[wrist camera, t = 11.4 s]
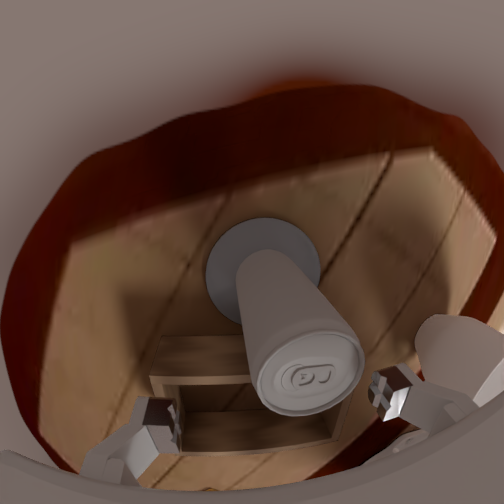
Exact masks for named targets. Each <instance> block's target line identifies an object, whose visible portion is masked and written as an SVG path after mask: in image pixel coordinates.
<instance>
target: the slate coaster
mask: <svg viewBox="0 0 504 504" xmlns="http://www.w3.org/2000/svg"><path fill="white" fill-rule="evenodd" d="M267 249H271V250H275V251H279V252H281V253H283V254H285V255H286V256H287V257H289V258H290V259H291V260H292V261H293V262H294V263H295V264H296V265H297V266H298V267H299V269H300V270H301V271H302V272H303V273H304V274H305V275H306V276H307V277H308V278H309V279H310V281H311V282H312V283H313V284H314V285H315V286H316V287H317V288H318V284H319V280H320V261H319V257H318V253H317V251H316V249H315V246H314V245H313V243H312V242H311V240H310V239H309V238H308V236H307V235H306V234H305V233H304V232H302V231H301V230H300V229H299V228H297V227H296V226H294V225H292V224H290V223H288V222H286V221H283V220H280V219H276V218H268V217H261V218H253V219H249V220H246V221H243V222H241V223H239V224H237V225H235V226H233V227H232V228H230V229H229V230H227V231H226V232H225V233H224V234H223V235H222V236H221V237H220V238H219V239H218V241H217V242H216V243H215V245H214V247H213V248H212V250H211V253H210V255H209V258H208V261H207V267H206V285H207V289H208V293H209V295H210V297H211V300H212V301H213V303H214V305H215V306H216V307H217V309H218V310H219V311H220V312H221V313H222V314H223V315H224V316H226V317H227V318H229V319H230V320H232V321H234V322H236V323H238V324H241V325H242V321H241V315H240V308H239V302H238V296H237V289H236V281H235V280H236V274H237V271H238V269H239V266H240V265H241V263H242V262H243V261H244V260H245V259H246V258H247V257H248V256H250V255H251V254H252V253H255V252H257V251H260V250H267Z"/></svg>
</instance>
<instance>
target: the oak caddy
mask: <svg viewBox="0 0 504 504" xmlns="http://www.w3.org/2000/svg"><path fill="white" fill-rule="evenodd" d="M149 377H150V381H151V385H152V388H153V392H154V395H155V397H166V398H175V399H176V402H177V410H178V411H179V412H180V415H181V420H182V433H181V434H180V435H179V437H180V440H181V445H180V453H174V454H175V456H236V455H251V454H262V453H271V452H279V451H287V450H293V449H299V448H305V447H311V446H316V445H321V444H326V443H330V442H334V441H338V439H339V436H340V433H341V430H342V427H343V424H344V421H345V418H346V415H347V412H348V408H349V405H350V402H351V399H352V395H353V392H354V389H353V390H352V392H351V393H350V394H349V395H347V396H346V397H345V398H344V399H343V400H342V401H340V402H339V403H337V404H336V405H334V406H332V407H331V408H329V409H326V410H324V411H321V412H319V413H315V414H311V415H307V416H288V415H282V414H279V413H276V412H274V411H272V410H270V409H259V410H246V411H228V412H185V408H184V404H183V399H182V395H181V390H180V385H217V384H240V383H252V381H251V375H250V370H249V364H248V358H247V352H246V346H245V340H244V334H243V335H221V336H161V339H160V342H159V346H158V349H157V352H156V355H155V358H154V361H153V364H152V368H151V371H150V374H149Z"/></svg>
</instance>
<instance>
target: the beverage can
mask: <svg viewBox="0 0 504 504" xmlns="http://www.w3.org/2000/svg"><path fill="white" fill-rule="evenodd" d="M235 281H236V289H237V296H238V302H239V308H240V315H241V321H242V327H243V333H244V340H245V346H246V352H247V358H248V364H249V370H250V375H251V381H252V384H253V386H254V388H255V390H256V392H257V394H258V396H259V398H260V400H261V402H262V403H263V404H264V405H265V406H266V407H268V408H269V409H270V410H272V411H274V412H276V413H279V414H282V415H288V416H307V415H311V414H315V413H319V412H321V411H324V410H326V409H329V408H331V407H332V406H334V405H336V404H337V403H339V402H340V401H342V400H343V399H344V398H345V397H346V396H347V395H349V394H350V393H351V392H352V390H353V389H354V388H355V386H356V385H357V384H358V382H359V380H360V378H361V376H362V374H363V371H364V365H365V357H364V351H363V349H362V347H361V346H360V342H359V339H358V338H357V336H356V334H355V333H354V331H353V329H352V328H351V327H350V326H349V325H348V323H347V322H346V321H345V320H344V319H343V317H342V316H341V315H340V314H339V313H338V312H337V310H336V309H335V308H334V307H333V306H332V305H331V303H330V302H329V301H328V300H327V299H326V298H325V296H324V295H323V294H322V293H321V292H320V291H319V289H318V288H317V287H316V286H315V285H314V284H313V283H312V282H311V281H310V279H309V278H308V277H307V276H306V275H305V274H304V273H303V272H302V271H301V270H300V269H299V267H298V266H297V265H296V264H295V263H294V262H293V261H292V260H291V259H290V258H289V257H287V256H286V255H285V254H283V253H281V252H279V251H275V250H271V249H267V250H260V251H257V252H255V253H252V254H251V255H250V256H248V257H247V258H246V259H245V260H244V261H243V262H242V263H241V265H240V266H239V269H238V271H237V274H236V280H235Z"/></svg>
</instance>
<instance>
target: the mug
mask: <svg viewBox="0 0 504 504" xmlns="http://www.w3.org/2000/svg"><path fill="white" fill-rule="evenodd" d="M415 349H416V352H417V355H418V358H419V362H420V365H421V369H422V372H423V375H424V378H425V381H427V382H430V383H433V384H436V385H439V386H442V387H446V388H449V389H452V390H455V391H459V392H462V393H465V394H467V395H468V396H469V397H470V398H471V399H472V400H473V401H474V402H475V403H476V404H477V405H478V406H479V407H481V406H483V405H484V404H486V403H487V402H489V401H490V400H491V399H493V398H494V397H496V396H497V395H498V394H500V393H501V392H502V391H503V390H504V334H502V333H500V332H499V331H497V330H495V329H493V328H492V327H490V326H488V325H486V324H484V323H482V322H481V321H478V320H476V319H474V318H470V317H466V316H455V315H445V314H435V315H432V316H431V317H429V318H428V319H427V320H426V321H425V322H424V323H423V324H422V325H421V327H420V328H419V330H418V332H417V334H416V337H415Z"/></svg>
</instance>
